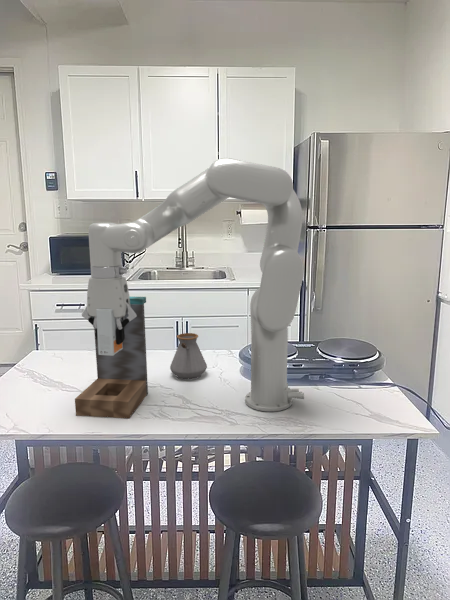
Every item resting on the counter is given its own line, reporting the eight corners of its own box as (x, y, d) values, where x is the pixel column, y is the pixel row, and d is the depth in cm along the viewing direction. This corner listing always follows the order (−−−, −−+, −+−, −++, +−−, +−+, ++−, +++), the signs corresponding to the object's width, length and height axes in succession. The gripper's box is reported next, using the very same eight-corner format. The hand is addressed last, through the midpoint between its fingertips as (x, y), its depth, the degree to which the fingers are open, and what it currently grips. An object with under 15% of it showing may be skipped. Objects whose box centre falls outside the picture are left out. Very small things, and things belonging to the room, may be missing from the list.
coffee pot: (172, 368, 147) (171, 324, 144) (208, 368, 147) (207, 324, 144) (163, 395, 126) (161, 344, 123) (204, 395, 126) (203, 344, 123)
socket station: (150, 390, 129) (145, 296, 124) (129, 418, 112) (123, 311, 107) (103, 388, 131) (97, 295, 126) (76, 415, 114) (67, 309, 109)
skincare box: (113, 356, 114) (111, 310, 111) (98, 355, 114) (95, 309, 112) (123, 349, 119) (121, 304, 117) (108, 348, 120) (106, 304, 118)
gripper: (143, 271, 115) (146, 339, 119) (81, 270, 118) (85, 337, 121) (134, 275, 108) (137, 348, 112) (67, 274, 110) (73, 345, 114)
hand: (110, 341), depth 116 cm, fingers closed on skincare box, 4 cm apart
